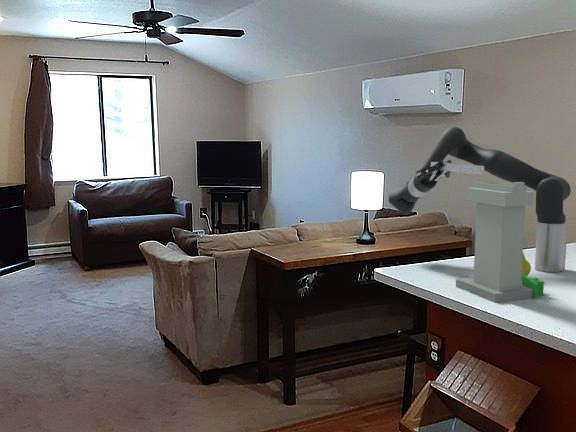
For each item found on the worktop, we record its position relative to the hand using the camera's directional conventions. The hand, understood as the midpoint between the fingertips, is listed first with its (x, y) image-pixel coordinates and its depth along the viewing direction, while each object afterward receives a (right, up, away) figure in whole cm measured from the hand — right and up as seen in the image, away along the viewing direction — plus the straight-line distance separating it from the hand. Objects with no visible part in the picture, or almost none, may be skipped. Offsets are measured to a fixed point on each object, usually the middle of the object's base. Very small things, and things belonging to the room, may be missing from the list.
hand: (446, 162), depth 201 cm
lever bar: (+2, -3, -5) cm, 6 cm away
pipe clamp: (+21, -43, -22) cm, 52 cm away
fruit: (+24, -40, -2) cm, 47 cm away
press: (+9, -42, -19) cm, 47 cm away
